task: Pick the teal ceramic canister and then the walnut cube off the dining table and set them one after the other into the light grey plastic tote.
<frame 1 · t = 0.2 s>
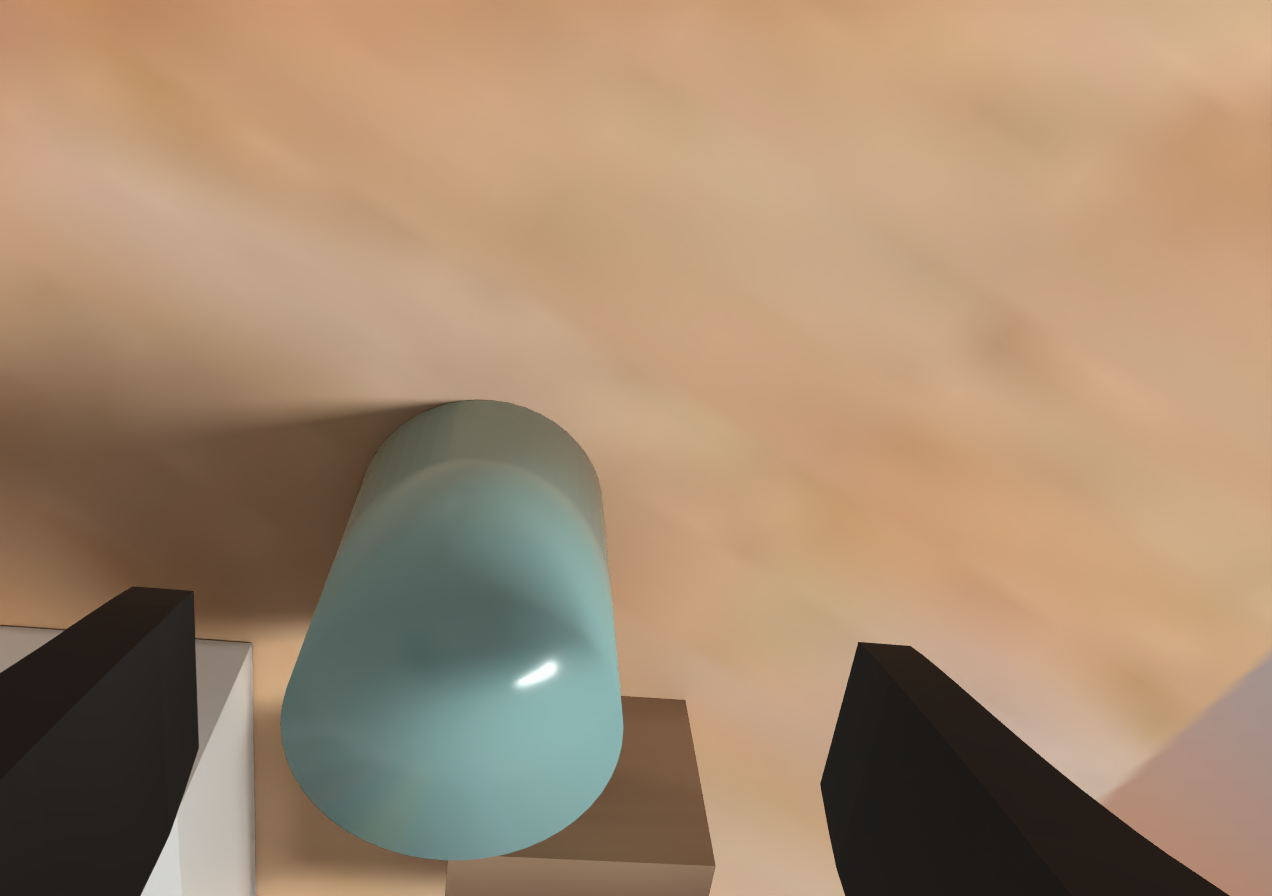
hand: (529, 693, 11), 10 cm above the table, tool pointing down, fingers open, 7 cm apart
teal canister: (483, 510, 22), on the table
walnut cube: (566, 775, 25), on the table
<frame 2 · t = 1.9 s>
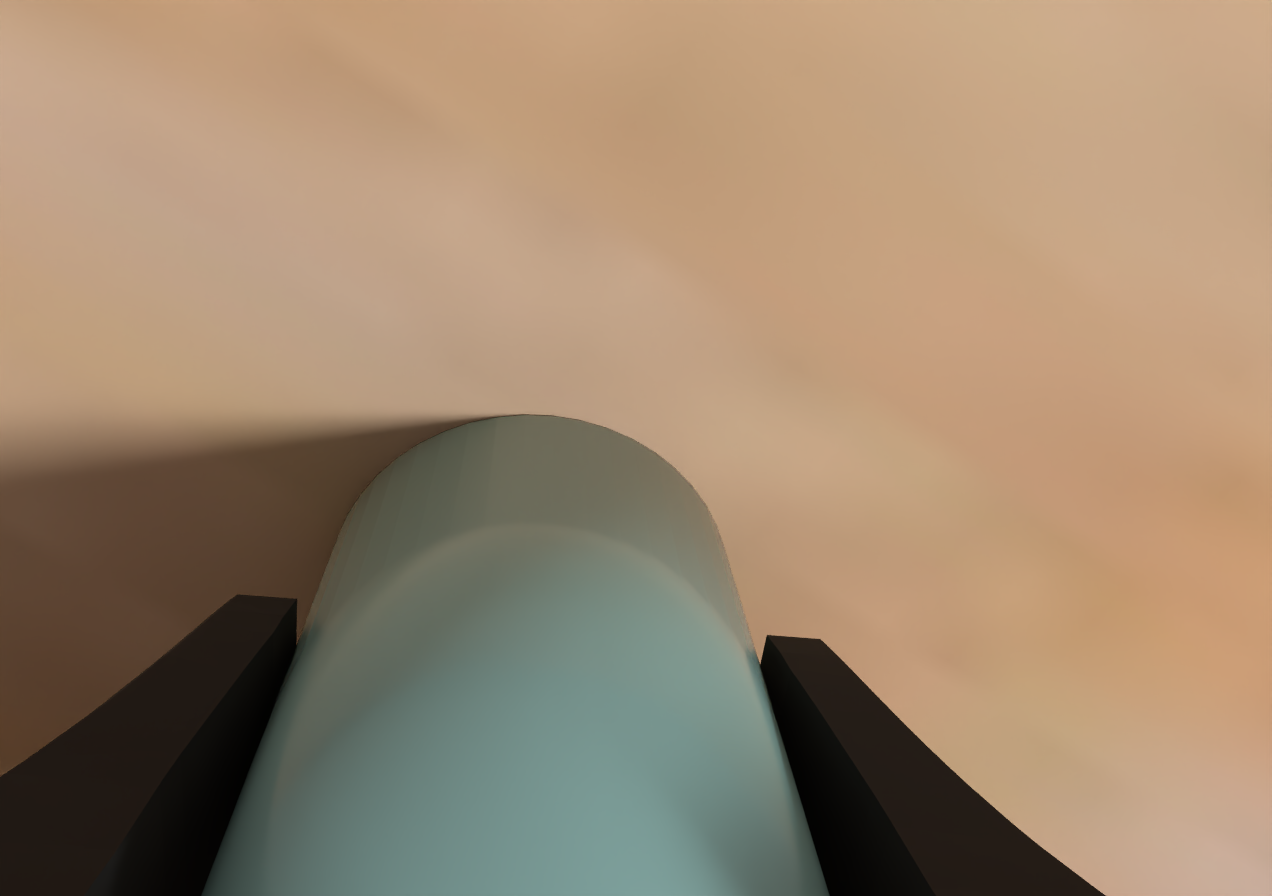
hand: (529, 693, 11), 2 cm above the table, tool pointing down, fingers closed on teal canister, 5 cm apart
teal canister: (532, 598, 13), on the table, touching gripper
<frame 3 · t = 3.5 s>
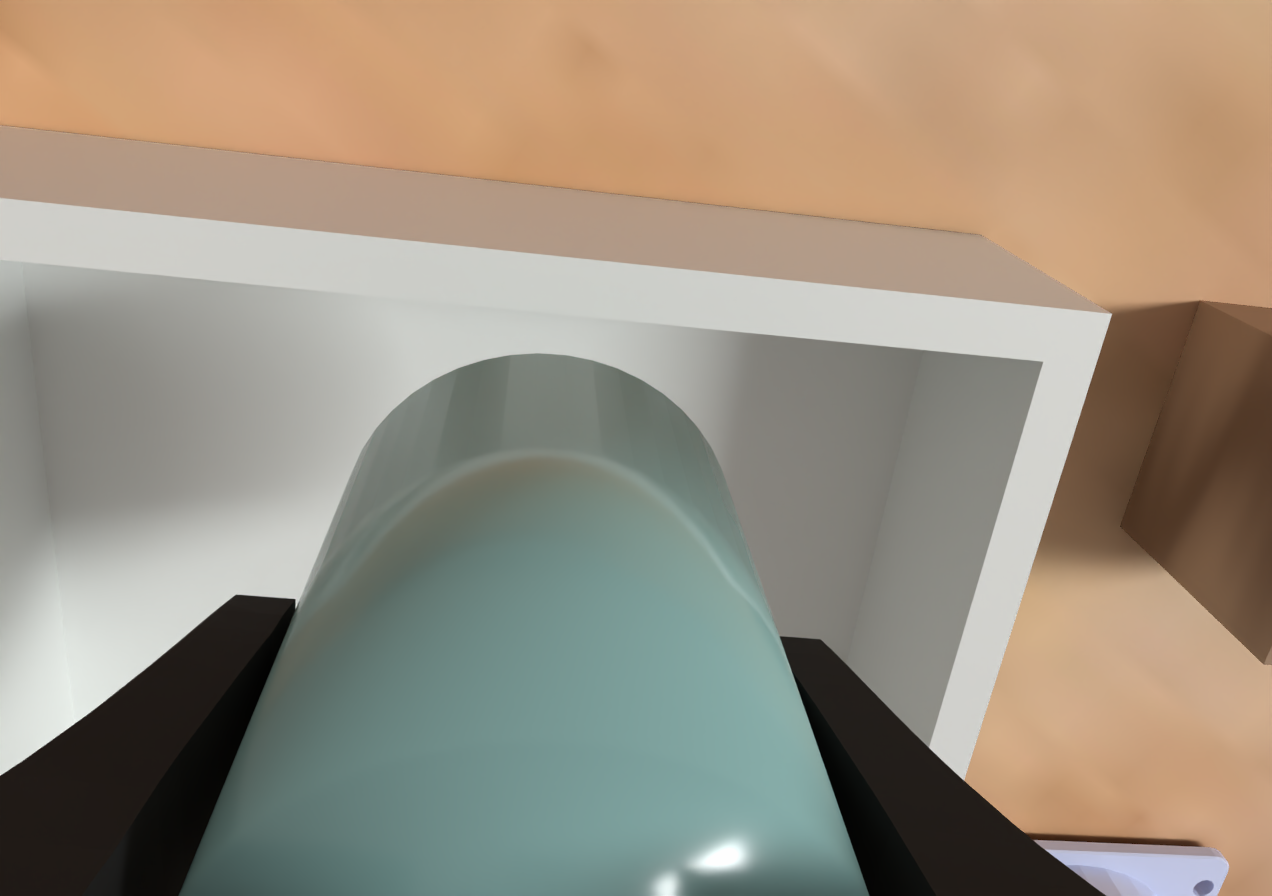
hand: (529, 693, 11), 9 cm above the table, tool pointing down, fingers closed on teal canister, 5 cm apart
grey tote: (480, 521, 21), on the table
teal canister: (540, 537, 14), point 7 cm above the table, touching gripper
walnut cube: (1268, 428, 22), on the table
when the fingers open (4 cm above the table, at t = 5.5 s): teal canister stays where it is, resting on grey tote.
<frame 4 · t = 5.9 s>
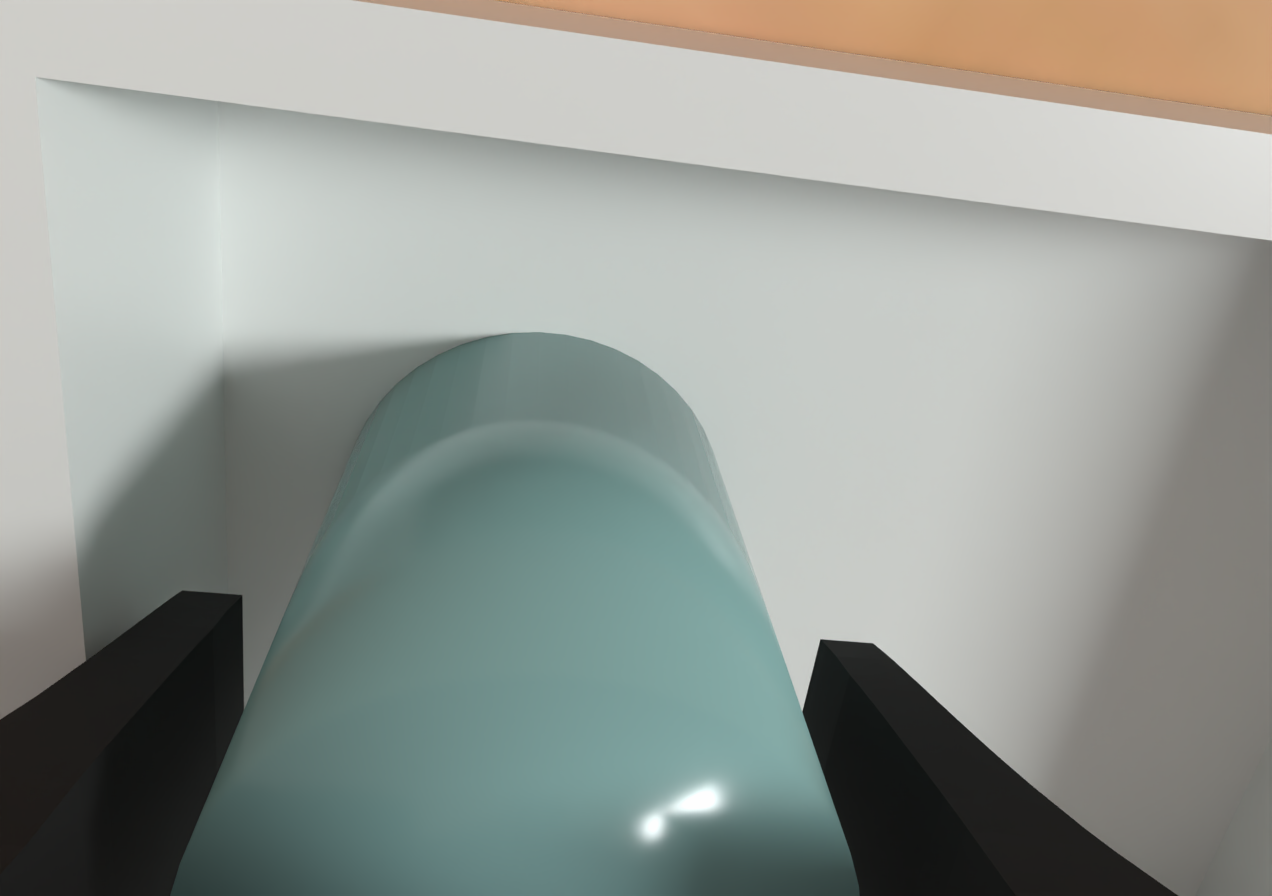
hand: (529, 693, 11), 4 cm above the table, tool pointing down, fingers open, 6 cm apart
grey tote: (805, 553, 15), on the table
teal canister: (535, 510, 14), point 1 cm above the table, touching grey tote
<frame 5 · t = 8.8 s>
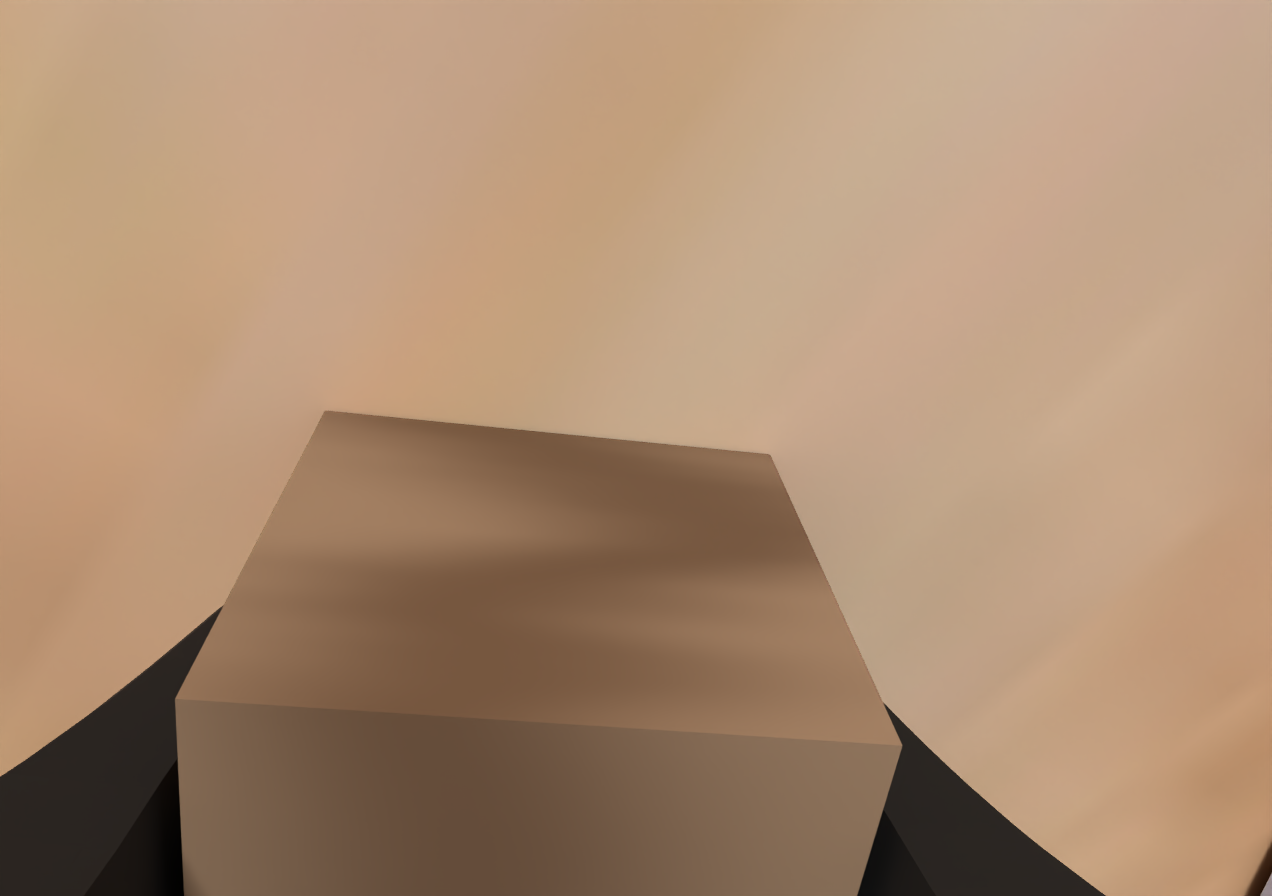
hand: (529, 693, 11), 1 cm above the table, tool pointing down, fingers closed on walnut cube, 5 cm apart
walnut cube: (531, 620, 13), on the table, touching gripper
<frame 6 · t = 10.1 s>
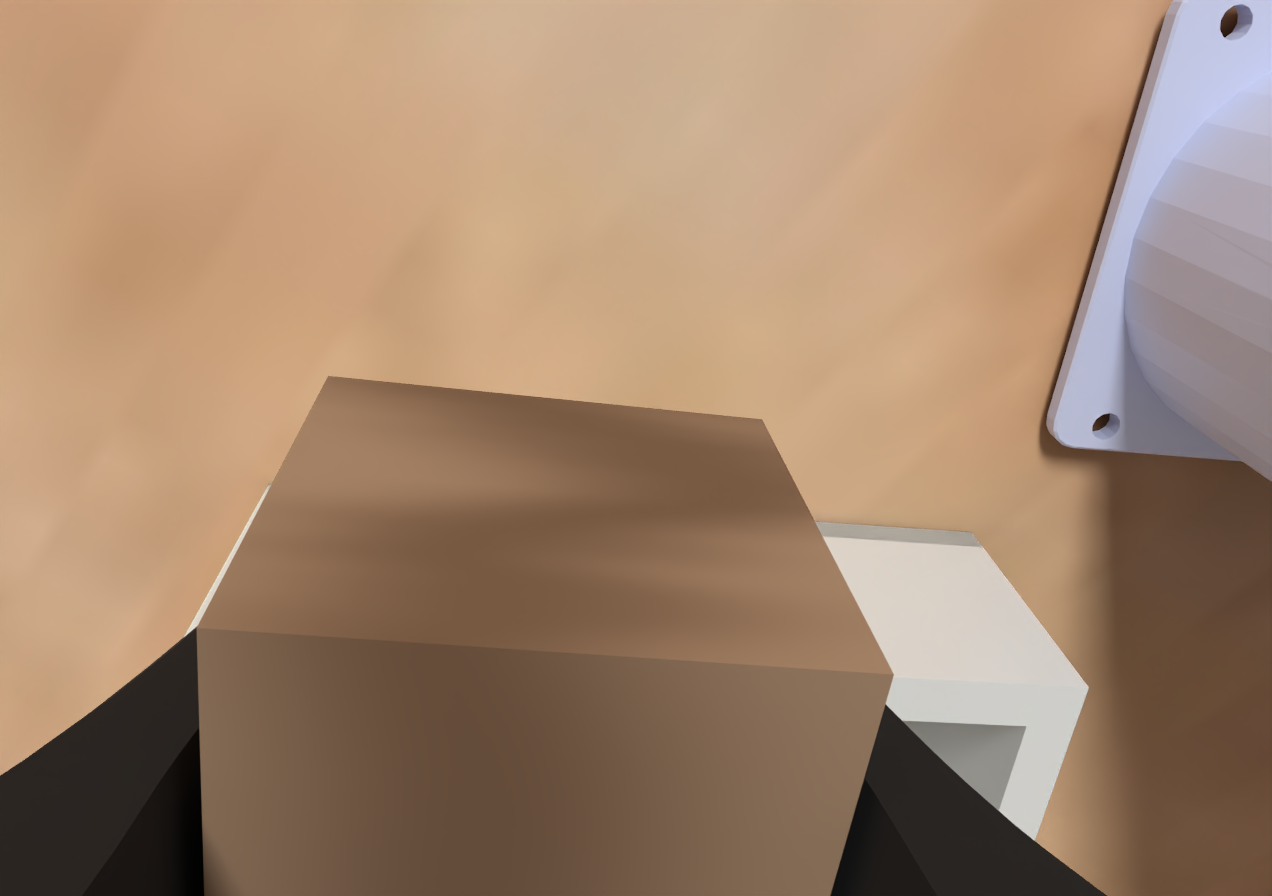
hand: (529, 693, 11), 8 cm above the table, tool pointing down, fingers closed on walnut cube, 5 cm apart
grey tote: (589, 853, 24), on the table
walnut cube: (529, 584, 13), point 7 cm above the table, touching gripper
when the fingers open (4 cm above the table, at t = 11.8 s): walnut cube drops 1 cm, resting on grey tote.
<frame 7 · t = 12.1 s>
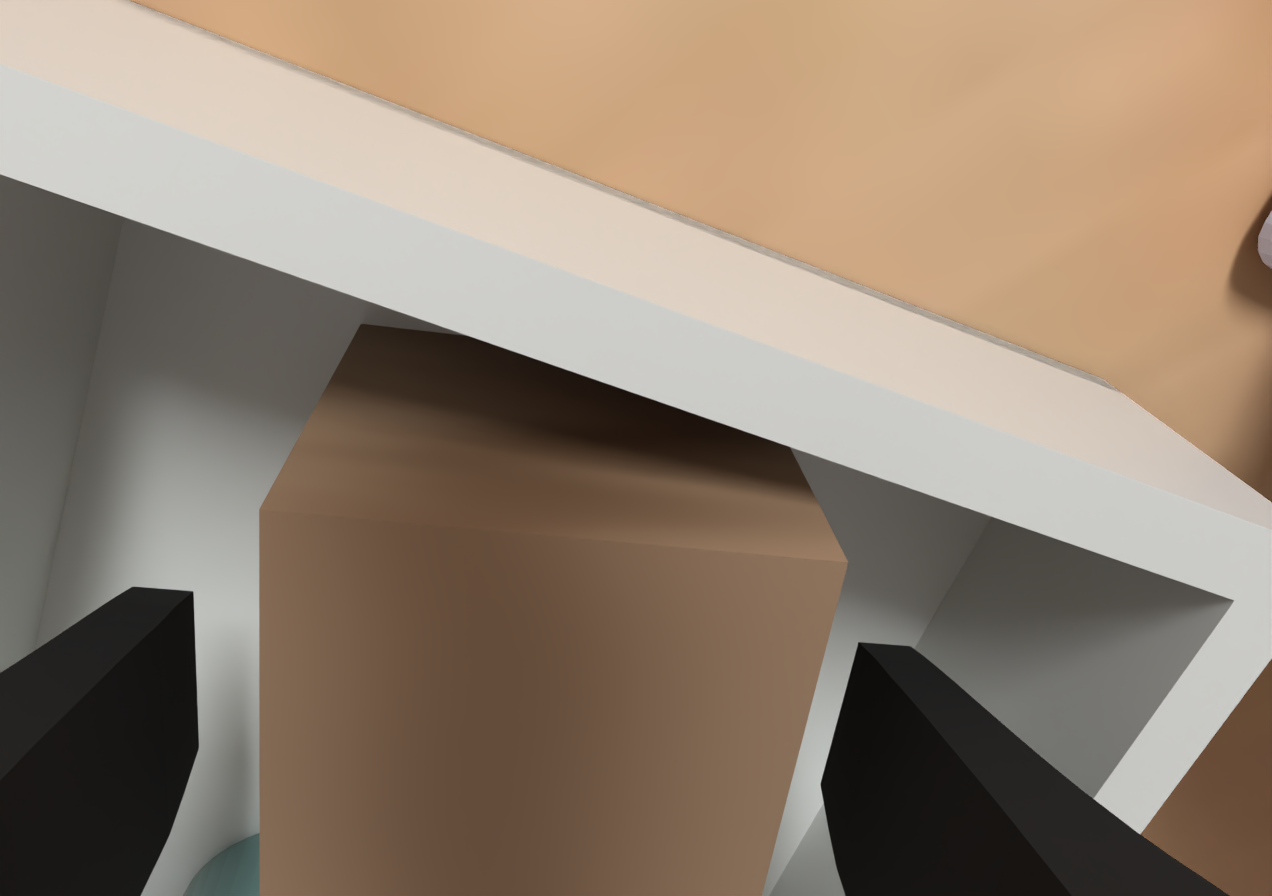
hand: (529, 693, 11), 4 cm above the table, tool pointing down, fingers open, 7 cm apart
grey tote: (450, 730, 16), on the table
walnut cube: (539, 517, 14), point 1 cm above the table, touching grey tote
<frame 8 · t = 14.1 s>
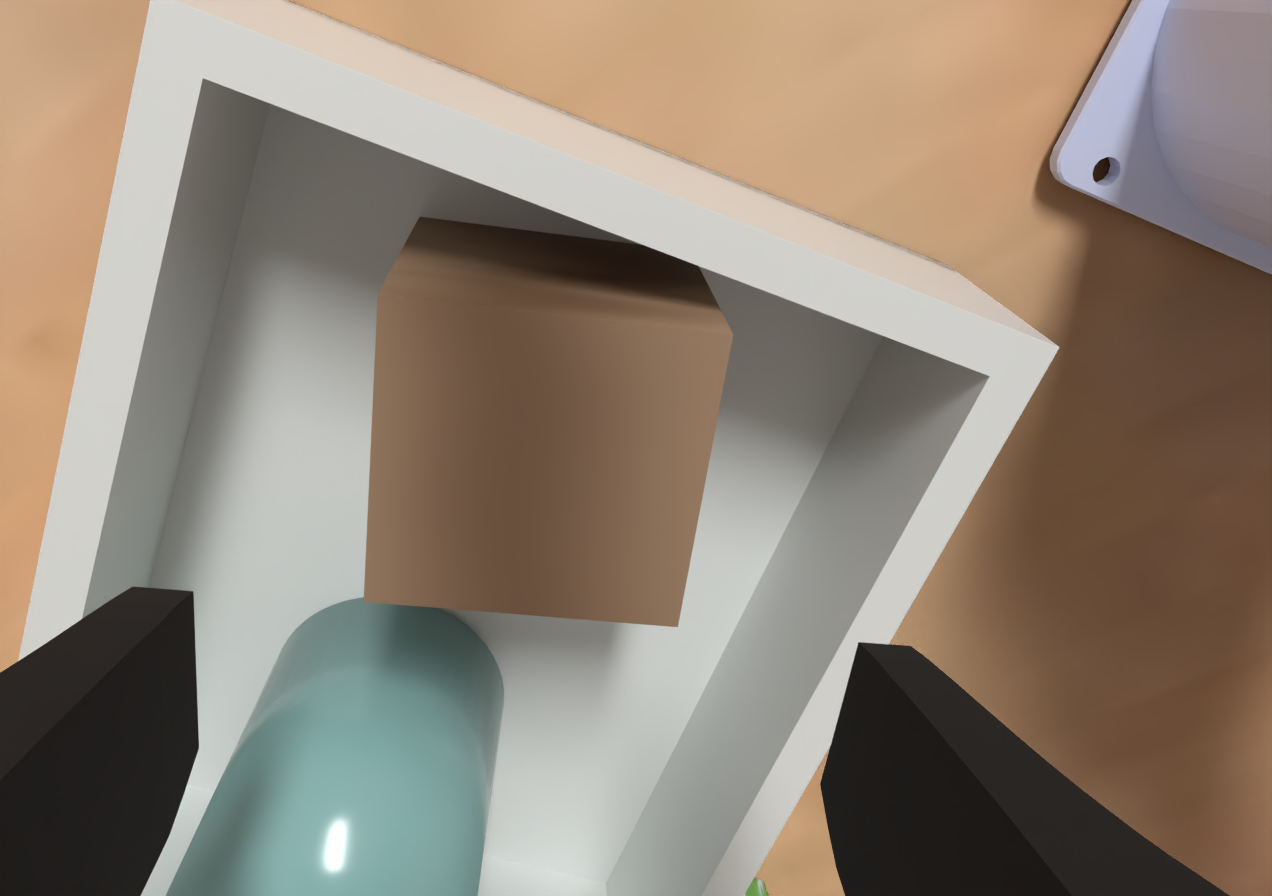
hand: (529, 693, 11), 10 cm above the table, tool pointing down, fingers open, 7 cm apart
grey tote: (476, 534, 22), on the table
teal canister: (390, 692, 23), point 1 cm above the table, touching grey tote
walnut cube: (542, 361, 20), point 1 cm above the table, touching grey tote
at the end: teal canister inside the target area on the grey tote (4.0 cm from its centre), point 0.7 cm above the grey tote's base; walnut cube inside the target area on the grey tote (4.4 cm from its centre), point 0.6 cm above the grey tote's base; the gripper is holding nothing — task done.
